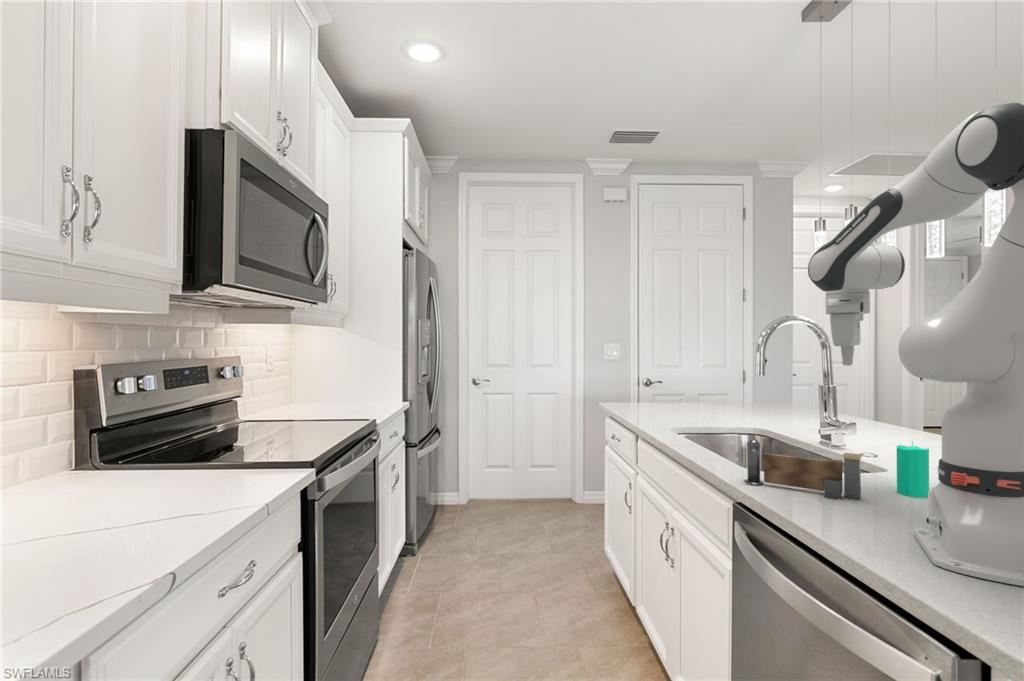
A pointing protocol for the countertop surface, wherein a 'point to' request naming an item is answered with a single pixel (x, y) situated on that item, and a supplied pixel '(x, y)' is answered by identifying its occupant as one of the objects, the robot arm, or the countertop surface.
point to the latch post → (846, 479)
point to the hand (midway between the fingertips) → (847, 365)
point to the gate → (800, 471)
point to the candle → (912, 471)
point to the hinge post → (753, 463)
